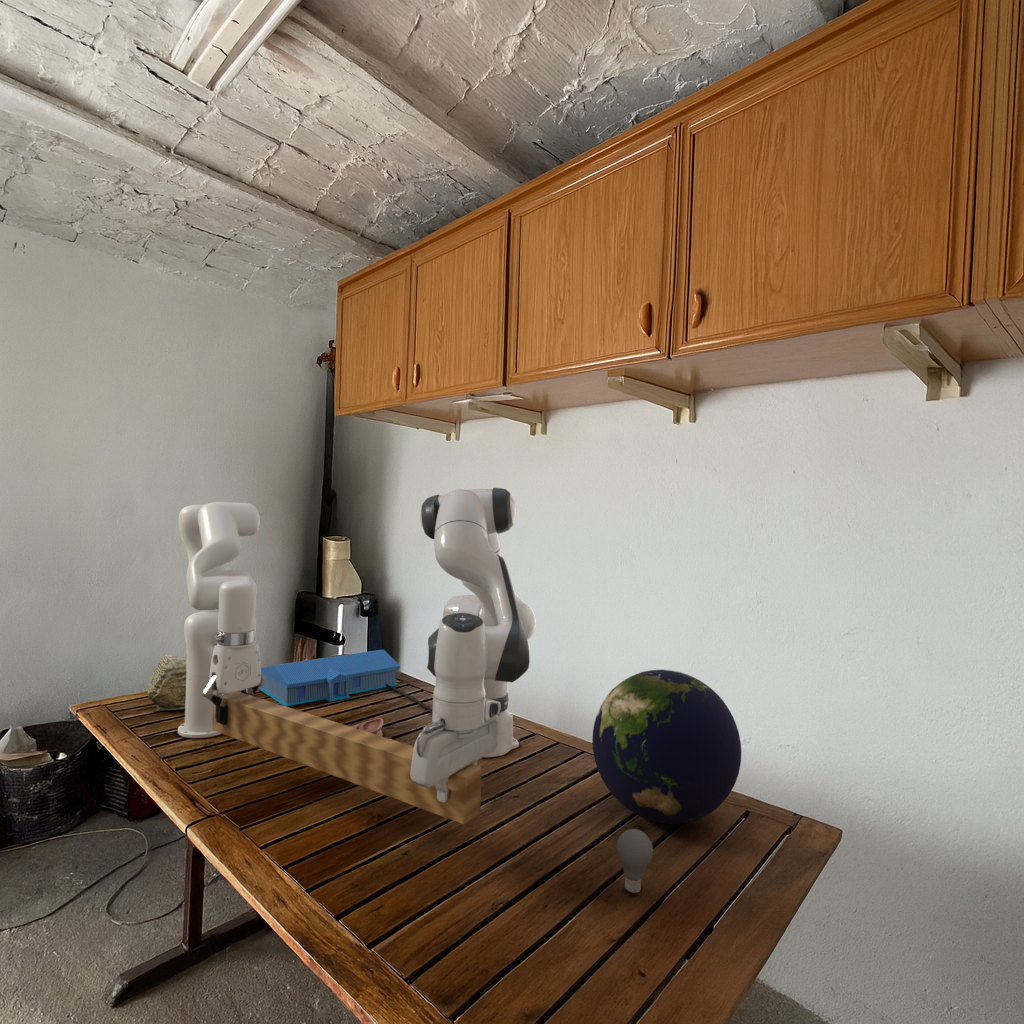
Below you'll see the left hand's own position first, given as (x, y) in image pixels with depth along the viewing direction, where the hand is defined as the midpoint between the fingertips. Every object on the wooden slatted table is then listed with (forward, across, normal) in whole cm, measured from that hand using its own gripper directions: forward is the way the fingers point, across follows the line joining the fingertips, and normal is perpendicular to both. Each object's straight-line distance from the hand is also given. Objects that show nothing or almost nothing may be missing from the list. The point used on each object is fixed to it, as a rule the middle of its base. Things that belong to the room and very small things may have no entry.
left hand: (233, 718), depth 140 cm
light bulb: (+12, +14, -88) cm, 90 cm away
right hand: (-2, -1, -61) cm, 61 cm away
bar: (+2, 0, -31) cm, 31 cm away
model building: (+14, +60, +32) cm, 69 cm away
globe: (+13, +42, -84) cm, 95 cm away
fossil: (+14, +21, +52) cm, 58 cm away
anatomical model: (+14, +34, -4) cm, 37 cm away
